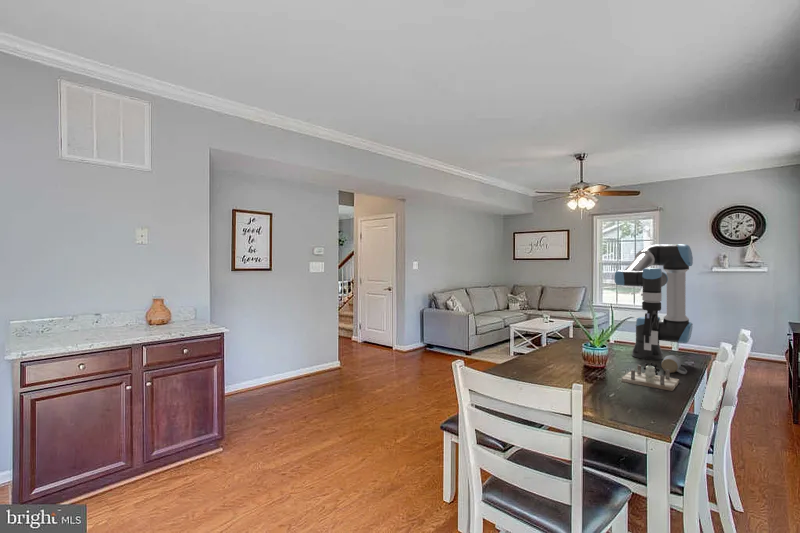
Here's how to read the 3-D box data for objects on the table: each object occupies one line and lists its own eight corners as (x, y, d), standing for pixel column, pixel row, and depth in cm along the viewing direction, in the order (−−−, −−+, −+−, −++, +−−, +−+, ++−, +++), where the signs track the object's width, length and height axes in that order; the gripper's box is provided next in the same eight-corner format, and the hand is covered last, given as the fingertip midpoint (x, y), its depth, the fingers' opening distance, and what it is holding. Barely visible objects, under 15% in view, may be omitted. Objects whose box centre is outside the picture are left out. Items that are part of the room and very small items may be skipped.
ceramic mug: (660, 371, 207) (661, 356, 206) (663, 368, 213) (663, 353, 213) (685, 376, 200) (686, 360, 199) (687, 372, 206) (688, 357, 206)
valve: (658, 383, 183) (659, 377, 193) (658, 369, 183) (660, 363, 193) (641, 381, 187) (643, 374, 197) (641, 366, 186) (643, 361, 196)
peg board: (630, 373, 203) (630, 362, 203) (679, 382, 189) (679, 370, 189) (621, 381, 191) (621, 369, 191) (672, 391, 178) (672, 378, 178)
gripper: (648, 298, 201) (648, 341, 202) (635, 303, 183) (634, 350, 183) (666, 299, 196) (665, 343, 197) (655, 305, 178) (654, 353, 178)
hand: (650, 347), depth 190 cm, fingers open, 13 cm apart
